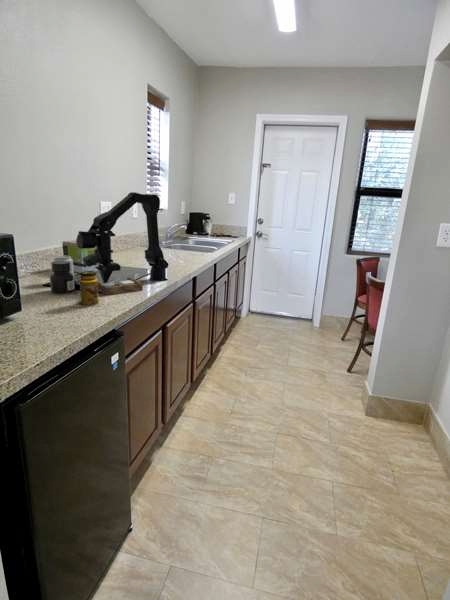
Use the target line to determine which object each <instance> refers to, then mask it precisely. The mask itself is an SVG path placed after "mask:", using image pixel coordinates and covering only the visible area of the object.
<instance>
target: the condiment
mask: <svg viewBox="0 0 450 600" xmlns="http://www.w3.org/2000/svg"><path fill="white" fill-rule="evenodd" d="M79 275H80V277H79V278H80V279H79V287H80V289H79V290H80V291H79V293H80V299H76V301H75V304H74V305H73V307H74V308H75V307H88V308H89V307H90V308H91V307H99V305H100V304H101V299H100V300H99V291H98V283H99V282H98V281H99V280H98V278H97V271H96V272H94V271H83V272H81V273H79Z"/></svg>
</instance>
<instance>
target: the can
mask: <svg viewBox="0 0 450 600" xmlns="http://www.w3.org/2000/svg"><path fill="white" fill-rule="evenodd" d="M54 258H55V259H53V262H54V261H69V262H70V268H71V269H70V270H71V271H70V272H71V274H73V275H74V276H75V272H74V270H73V260H72V259H71V256H66V255H63V254H62V255H56V256H55V257H54Z"/></svg>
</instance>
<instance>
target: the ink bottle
mask: <svg viewBox="0 0 450 600" xmlns="http://www.w3.org/2000/svg"><path fill="white" fill-rule="evenodd" d="M70 269H71V268H70V262H69V261H54V260H53V261H51V272H52V273H51V274H50V275H49V285H50V292H51V293H53V294H59V295H60V294H61V295H63V294H71V293H73V292H75V288H76V287H75V274H74V275H73V274H71V272H70V271H71V270H70Z"/></svg>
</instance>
